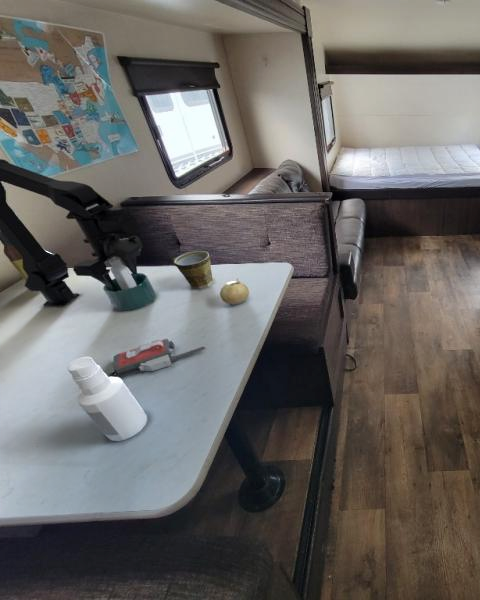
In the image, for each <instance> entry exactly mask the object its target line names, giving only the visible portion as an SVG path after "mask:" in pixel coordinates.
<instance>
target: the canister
mask: <svg viewBox="0 0 480 600" xmlns="http://www.w3.org/2000/svg"><path fill="white" fill-rule="evenodd" d="M130 274H131V275H132V277H133V279H134V281H135V283H136V285H137V286H135V287H132V288H129V289H126V290H122V289H121V288H120V286H119V284H118V282H117V281H116V279H115V278H113V279H112V278H111V279H112V281H113V283H114V285H115V287H116V289H111V288H109V287H108V286H106V285H105V284H103V287H102V289H103V291H104V293H105V295H106V296H107V298H108V299H109V301H110V302H111V304H112V307H113V308H115V310H116V311H118V312H132V311H133V312H134V311H136V310H140V309H142V308H144V307H147V306H149V305H150V304H152V303H153V302H154V301H155V300H156V298H157V293H156V290H155V289H154V287H153V285H152V283H151V281H150V279H149V277H148V276H147V274H145V273H142V272H137V274H133V273H132V272H131V273H130Z"/></svg>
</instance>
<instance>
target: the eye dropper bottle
mask: <svg viewBox="0 0 480 600" xmlns="http://www.w3.org/2000/svg"><path fill="white" fill-rule="evenodd" d="M108 262H109V264H110V266H111V267H110V272H111V273H112V276H113V277H114V279H116V281H117V282H118V284H119V286H120V288H121V289H122V290H126V289H129V288H132V287H135V286H137V285H136V283H135V281H134V279H133V277H132V275H131V274H132V273H131V271H130V270H129V269H128V267H127V266H126V265H125V264H123V262H122V260H121V258H120V257H114V258H113V259H111V260H110V261H108Z"/></svg>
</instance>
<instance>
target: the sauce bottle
mask: <svg viewBox="0 0 480 600" xmlns="http://www.w3.org/2000/svg"><path fill="white" fill-rule="evenodd" d="M0 243H1V244H2V245H3V254H4V256H6V258H7V259H8V260H9V262H10V263H11V265H12V266H13V267H14V268H15V270H16V271H17V272H18V273H19V275H20V276H21V277H22V278H23V279H24V281H25V282H26V280H27V278H28V275H27V274H26V272H25V271H24V269H23V261H22V256H21V255H20V254H19V252H18V251H17V250H16V249H15V248H14V247H13V245H12V244H11V243H10V242H9V241H8V239H7V238H6V237H5V236H4V235H3V234H2V232H1V231H0Z"/></svg>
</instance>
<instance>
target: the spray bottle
mask: <svg viewBox="0 0 480 600" xmlns="http://www.w3.org/2000/svg"><path fill="white" fill-rule="evenodd" d="M66 369H67V371H68V372H69V374H70V375H71V377H72V380H73V381H74V383H75V384H76V385H77V386H78V388H79V390H80V393H79V394H78V396H77V403H78V405H79V406H80V407H81V408H82V410H83V411H84V412H85V413H86V415H88V417H89V418H90V419H91V420H92V421H93V422H94V423H95V425H96V426H97V427H98V428H99V429H100V430H101V432H102V433H103V434H104V435H105V437H107V439H109V440H110V441H111V442H112V441H113V442H122V441H125V440H128V439H130V438H132V437H134V436H135V435H137V434H138V433H140V432H141V431H142V430H143V428H145V426H146V424H147V422H148V415H147V413H146V412H145V411H144V409H143V408H142V406H141V405H140V404H139V402H138V401H137V399H136V398H135V397H134V395H133V393H132V392H131V390H130V389H129V388H128V387H127V385H126V384H125V382H124V381H123V380H122V378H121V377H110V376H109V375H107V374H106V373H105V372H104V371H103V369H102V367H101V366H100V364H99V365H98V364H97V363H96V362H95V361H94V359H93V358H92V357H90V356H82V357H78V358H77V359H74V360H72V361H71V362H70V363H69V364H68V365H67V367H66Z"/></svg>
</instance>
